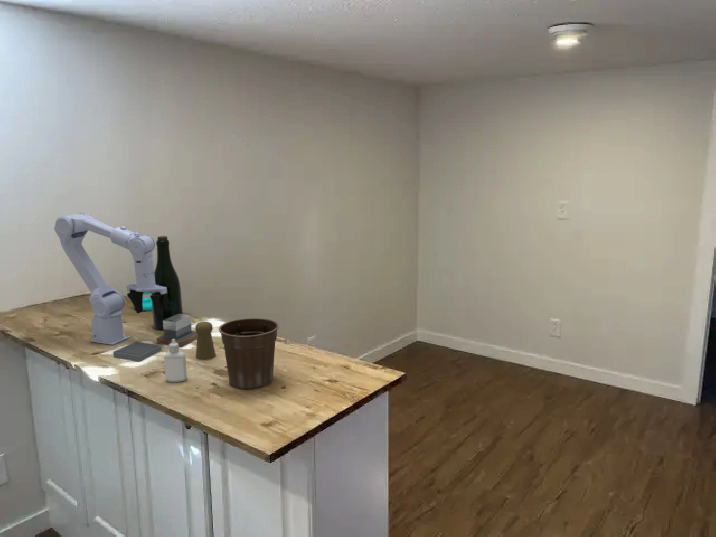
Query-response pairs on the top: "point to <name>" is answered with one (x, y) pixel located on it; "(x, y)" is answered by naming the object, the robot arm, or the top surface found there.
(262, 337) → the plant pot
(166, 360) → the eye dropper bottle
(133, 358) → the stand
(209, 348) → the cork
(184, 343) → the stand
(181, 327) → the block
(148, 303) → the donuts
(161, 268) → the dark green wine bottle
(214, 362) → the top surface
